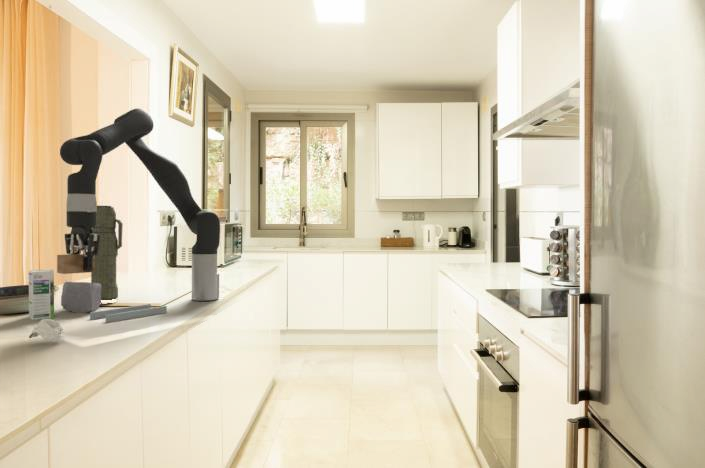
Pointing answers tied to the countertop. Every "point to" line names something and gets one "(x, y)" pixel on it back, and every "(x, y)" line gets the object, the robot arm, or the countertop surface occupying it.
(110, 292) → the thermos
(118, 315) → the guide channel
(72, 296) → the stone block
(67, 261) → the walnut block
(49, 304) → the syrup box
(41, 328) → the white rolled cloth
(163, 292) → the countertop surface
